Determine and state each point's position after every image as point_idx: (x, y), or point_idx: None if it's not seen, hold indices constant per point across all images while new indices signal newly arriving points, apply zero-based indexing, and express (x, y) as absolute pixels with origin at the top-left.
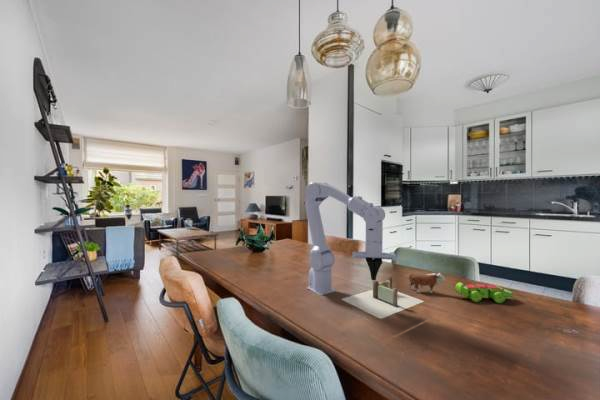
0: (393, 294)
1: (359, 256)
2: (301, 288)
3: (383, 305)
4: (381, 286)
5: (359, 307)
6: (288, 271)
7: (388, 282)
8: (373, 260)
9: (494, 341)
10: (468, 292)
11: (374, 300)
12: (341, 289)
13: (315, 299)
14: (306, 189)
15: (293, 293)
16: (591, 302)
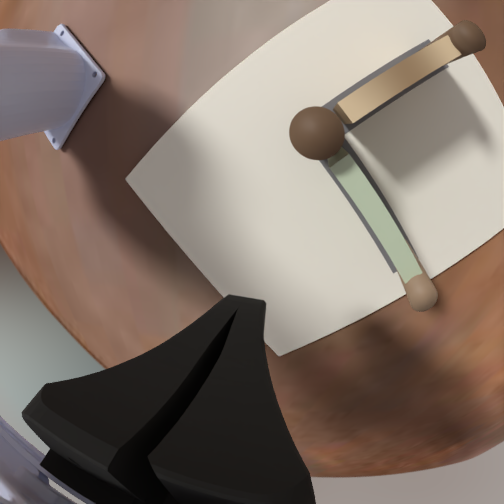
0: (400, 279)
1: (5, 443)
2: None
3: (333, 246)
4: (354, 191)
5: (205, 268)
6: None
7: (443, 64)
8: (169, 452)
9: (495, 405)
10: None
11: (299, 179)
12: (133, 33)
13: (54, 186)
14: None
15: (7, 149)
16: None
